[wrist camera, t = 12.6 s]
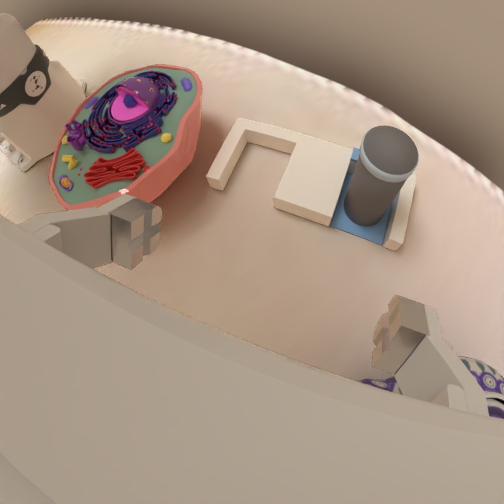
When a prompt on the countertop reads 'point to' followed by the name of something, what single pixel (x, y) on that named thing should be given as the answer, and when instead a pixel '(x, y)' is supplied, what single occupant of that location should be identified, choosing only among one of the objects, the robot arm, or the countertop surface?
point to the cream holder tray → (313, 180)
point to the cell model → (128, 137)
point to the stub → (379, 174)
